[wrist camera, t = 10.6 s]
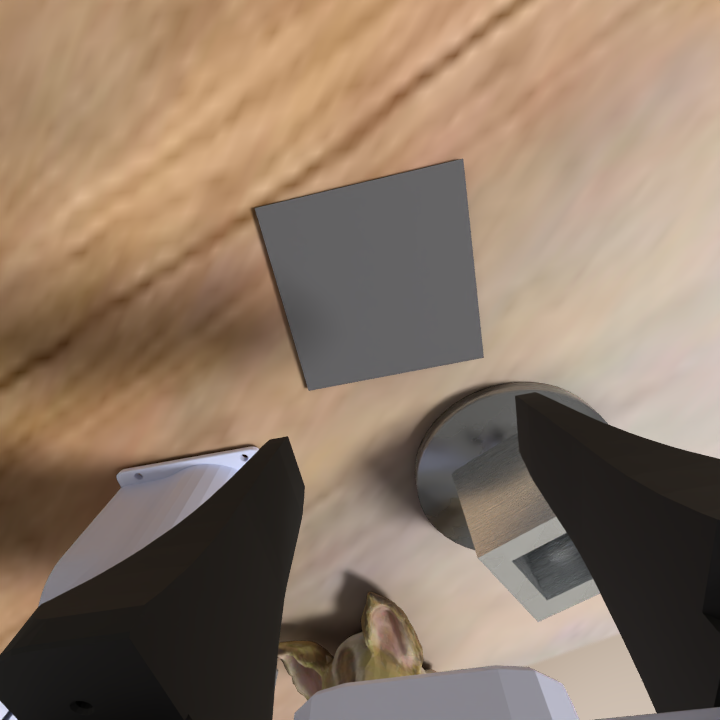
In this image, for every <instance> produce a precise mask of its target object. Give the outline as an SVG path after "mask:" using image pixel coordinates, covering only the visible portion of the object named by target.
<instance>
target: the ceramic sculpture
mask: <svg viewBox="0 0 720 720" xmlns="http://www.w3.org/2000/svg"><path fill="white" fill-rule="evenodd" d="M361 626H362V631H363V632H361V633H358V634H355V635H352V636H351V637H349V638H348V639H346V640H345V641H344V642H343V643H342V644H341V645H340V646H339V647H338V649H337V651H336V653H335V656H334V657H333V656H332V655H331V654H330V653H329V652H328V651H327V650H326V649H324V648H323V647H322V646H320V645H319V644H317V643H316V642H313V641H289V642H280V643H279V648H278V658H279V659H281V660H282V662H283V664H284V666H285V668H286V670H287V672H288V674H289V675H290V676H292V681H293V684H294V685H295V686H296V689H297V691H298V692H299V693H300V694H302V695H304V696H305V698H306V699H307V701H308V700H309V699H310V698H311V697H312V696H313V695H314V694H315V693H316V692H317V691H320V690H324V689H327V688H330V687H334V686H337V685H340V684H344V683H350V682H358V681H367V680H375V679H384V678H393V677H401V676H410V675H418V674H427V673H436V671H434V670H432V669H427V670H424V669H423V668H422V663H423V651H422V646H421V644H420V643H419V640H418V637H417V635H416V633H415V631H414V629H413V627H412V625H411V624H410V622H409V620H408V618H407V616H406V614H405V613H404V612H403V610H402V609H401V608H400V607H398V606H397V605H396V604H395V603H394V602H392V601H391V600H389V599H387V598H384V597H382V596H380V595H378V594H375V593H373V592H368V594H367V602H366V605H365V608H364V611H363V614H362V618H361Z"/></svg>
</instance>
